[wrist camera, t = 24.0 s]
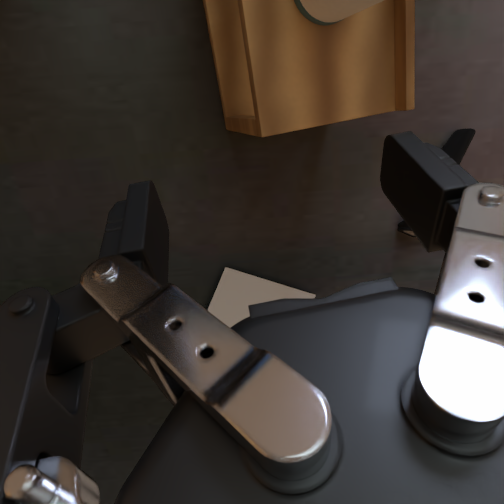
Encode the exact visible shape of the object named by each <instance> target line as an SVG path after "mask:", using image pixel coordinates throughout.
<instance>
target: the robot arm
mask: <svg viewBox="0 0 504 504" xmlns="http://www.w3.org/2000/svg"><path fill="white" fill-rule="evenodd" d="M380 181H381V187H382V190H383V192H384V194H385V195H386V196H387V198H388V199H389V200H390V202H391V203H392V204H393V206H394V207H395V208H396V210H397V211H398V213H399V214H400V215H401V217H402V218H403V219H404V221H405V222H406V223H407V225H408V226H409V227H410V229H411V230H412V231H413V233H414V234H415V235H416V237H417V238H418V240H419V241H420V242H421V244H422V245H423V246H424V248H425V249H426V250H427V252H433V251H438V250H444V251H445V252H446V253H445V256H444V259H443V263H442V267H441V270H440V274H439V278H438V282H437V285H436V289H435V293H434V294H432V293H429V292H426V291H422V290H418V289H413V288H405V287H397V285H396V284H395V282H394V280H393V278H392V277H388V278H383V279H378V280H373V281H368V282H363V283H358V284H355V285H352V286H350V287H348V288H346V289H343V290H341V291H339V292H337V293H334V294H332V295H330V296H327V297H325V298H319V299H315V298H283V299H278V300H273V301H268V302H263V303H258V304H253V305H248V308H249V314H250V316H249V317H247V318H245V319H243V320H241V321H239V322H238V323H236V324H235V325H233V326H232V327H231V328H230V327H228V326H227V325H226V324H224V323H223V322H222V321H221V320H219V319H218V318H217V317H215V316H214V315H213V314H211V313H210V312H209V311H208V310H206V309H205V308H204V307H202V306H201V305H200V304H198V303H197V302H196V301H195V300H193V299H192V298H191V297H189V296H188V295H187V294H185V293H184V292H183V291H181V290H180V289H179V288H178V287H176V286H175V285H173V284H171V283H168V258H169V229H168V224H167V220H166V216H165V214H164V211H163V208H162V205H161V202H160V199H159V197H158V194H157V191H156V188H155V186H154V183H153V182H152V180H150V181H145V182H140V183H134V184H130V185H129V187H128V193H127V199H126V200H124V201H119V202H117V203H116V204H115V205H114V207H113V208H112V209H111V210H110V212H109V214H108V219H107V224H106V228H105V233H104V237H103V241H102V246H101V250H100V255H99V259H98V260H96V261H94V262H93V263H91V264H90V265H89V266H88V267H87V268H86V269H85V270H84V271H83V273H82V275H81V279H80V283H79V284H78V285H76V286H74V287H72V288H69V289H67V290H65V291H62V292H60V293H58V294H55V295H53V296H51V294H50V293H49V292H48V290H46V289H45V288H42V287H32V288H27V289H24V290H22V291H19V292H17V293H15V294H14V295H12V296H11V297H9V298H8V299H7V300H6V301H5V302H4V303H3V304H2V305H1V306H0V504H100V494H99V489H98V486H97V484H96V482H95V481H94V479H93V478H91V477H90V476H89V475H88V474H87V473H85V472H84V471H83V470H82V469H80V468H81V459H82V451H83V442H84V434H85V425H86V417H87V408H88V400H89V391H90V383H91V374H92V365H93V358H95V357H97V356H99V355H101V354H103V353H105V352H107V351H109V350H111V349H113V348H115V347H117V346H119V345H120V346H121V347H122V348H123V349H124V350H125V351H126V352H127V353H128V354H129V355H130V356H131V358H132V359H133V360H134V361H135V362H136V363H137V364H138V365H139V366H140V367H141V368H142V369H143V370H144V371H145V373H146V374H147V375H148V376H149V377H150V378H151V379H152V380H153V381H154V382H155V384H156V385H157V386H158V387H159V389H160V390H161V391H162V393H163V394H164V395H165V397H166V398H167V399H168V400H169V401H170V403H171V404H172V405H173V406H174V408H173V409H172V411H171V412H170V414H169V415H168V417H167V418H166V420H165V422H164V423H163V425H162V426H161V428H160V429H159V431H158V432H157V434H156V435H155V437H154V438H153V440H152V441H151V443H150V445H149V446H148V448H147V449H146V451H145V452H144V454H143V455H142V457H141V458H140V460H139V461H138V463H137V465H136V466H135V468H134V469H133V471H132V472H131V474H130V475H129V477H128V478H127V480H126V481H125V483H124V485H123V486H122V488H121V490H120V492H119V494H118V496H117V498H116V501H115V503H114V504H504V186H502V185H499V184H494V183H479V182H478V181H477V180H475V179H474V178H473V177H472V176H471V175H470V174H469V173H468V172H466V171H465V170H464V169H463V168H462V167H461V166H460V165H457V163H456V162H455V161H454V160H453V159H452V158H450V156H449V155H447V154H446V153H445V152H444V151H443V150H442V149H441V148H438V147H436V146H434V145H431V144H429V143H423V142H422V141H421V140H420V139H419V138H418V137H417V136H416V135H414V134H413V133H412V132H411V131H408V132H403V133H397V134H392V135H388V136H387V137H386V138H385V141H384V148H383V157H382V165H381V174H380Z"/></svg>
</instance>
